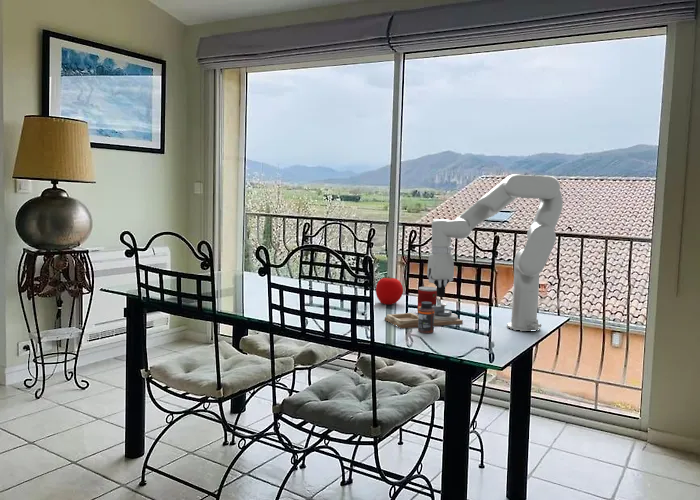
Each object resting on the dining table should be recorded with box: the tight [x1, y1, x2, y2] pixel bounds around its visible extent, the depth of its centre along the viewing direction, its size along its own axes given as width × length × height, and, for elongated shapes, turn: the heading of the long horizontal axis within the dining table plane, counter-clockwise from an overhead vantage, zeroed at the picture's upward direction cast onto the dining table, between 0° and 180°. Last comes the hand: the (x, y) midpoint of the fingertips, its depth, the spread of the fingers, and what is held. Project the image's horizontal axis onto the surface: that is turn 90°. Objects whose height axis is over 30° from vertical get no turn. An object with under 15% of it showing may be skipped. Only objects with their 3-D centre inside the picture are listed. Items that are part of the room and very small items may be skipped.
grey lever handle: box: [417, 303, 452, 316], centre depth 257 cm, size 15×7×4 cm, turn 117°
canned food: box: [417, 286, 438, 312], centre depth 270 cm, size 8×8×11 cm
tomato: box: [375, 275, 404, 305], centre depth 288 cm, size 12×12×13 cm
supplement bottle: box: [417, 301, 435, 334], centre depth 240 cm, size 6×6×11 cm
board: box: [384, 312, 464, 329], centre depth 256 cm, size 14×29×3 cm, turn 113°
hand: (440, 296), depth 253 cm, fingers closed
